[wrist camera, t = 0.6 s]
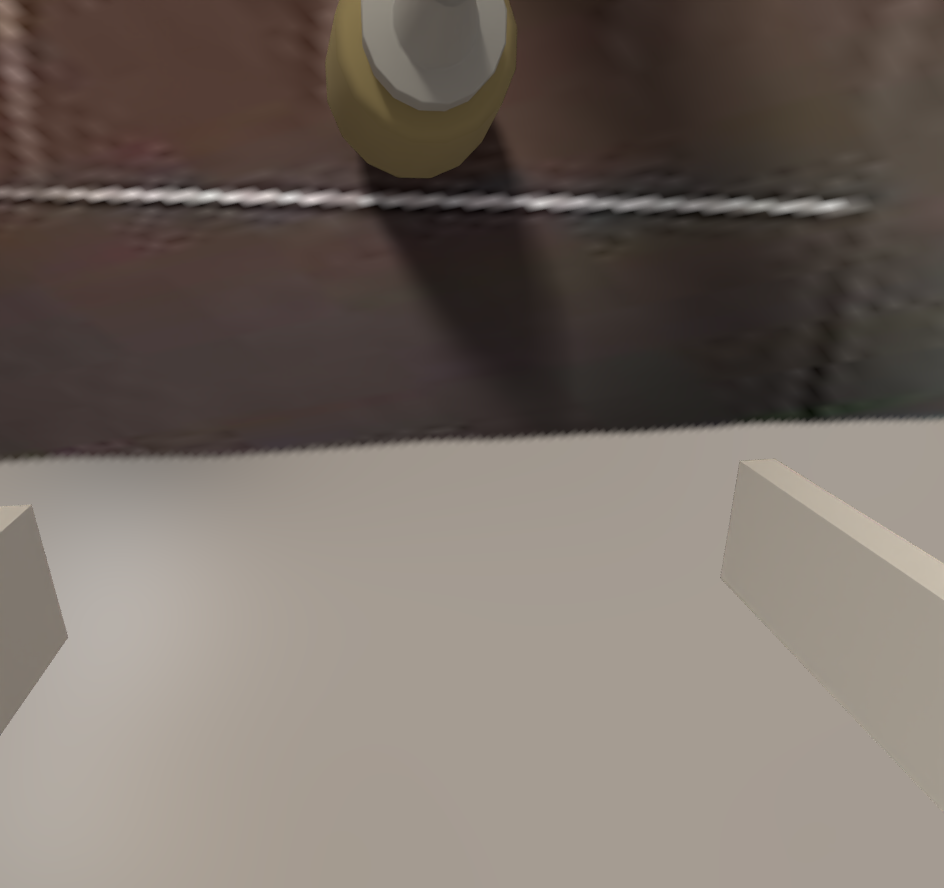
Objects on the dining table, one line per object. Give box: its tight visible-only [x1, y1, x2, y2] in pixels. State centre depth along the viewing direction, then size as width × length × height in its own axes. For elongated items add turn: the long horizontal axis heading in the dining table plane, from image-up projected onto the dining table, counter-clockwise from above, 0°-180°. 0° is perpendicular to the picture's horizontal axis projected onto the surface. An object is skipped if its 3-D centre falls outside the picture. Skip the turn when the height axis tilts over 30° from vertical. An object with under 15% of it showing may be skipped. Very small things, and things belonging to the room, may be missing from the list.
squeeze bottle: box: [325, 0, 517, 178], centre depth 25 cm, size 8×8×18 cm
